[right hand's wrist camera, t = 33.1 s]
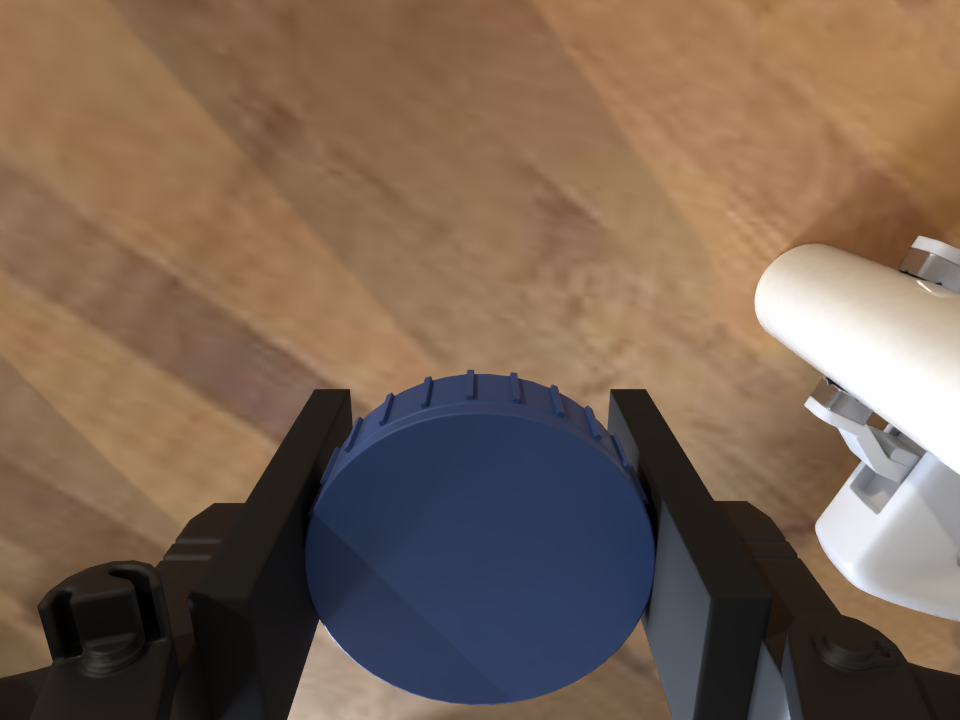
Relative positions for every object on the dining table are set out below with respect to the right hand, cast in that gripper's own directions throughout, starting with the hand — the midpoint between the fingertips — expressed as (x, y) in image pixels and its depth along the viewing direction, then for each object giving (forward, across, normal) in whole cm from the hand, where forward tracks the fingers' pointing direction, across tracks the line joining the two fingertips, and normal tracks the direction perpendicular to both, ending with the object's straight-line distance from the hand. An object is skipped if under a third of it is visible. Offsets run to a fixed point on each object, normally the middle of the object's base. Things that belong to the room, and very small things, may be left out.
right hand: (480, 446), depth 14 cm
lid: (-4, 0, 0) cm, 4 cm away
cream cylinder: (+19, +16, -2) cm, 25 cm away
